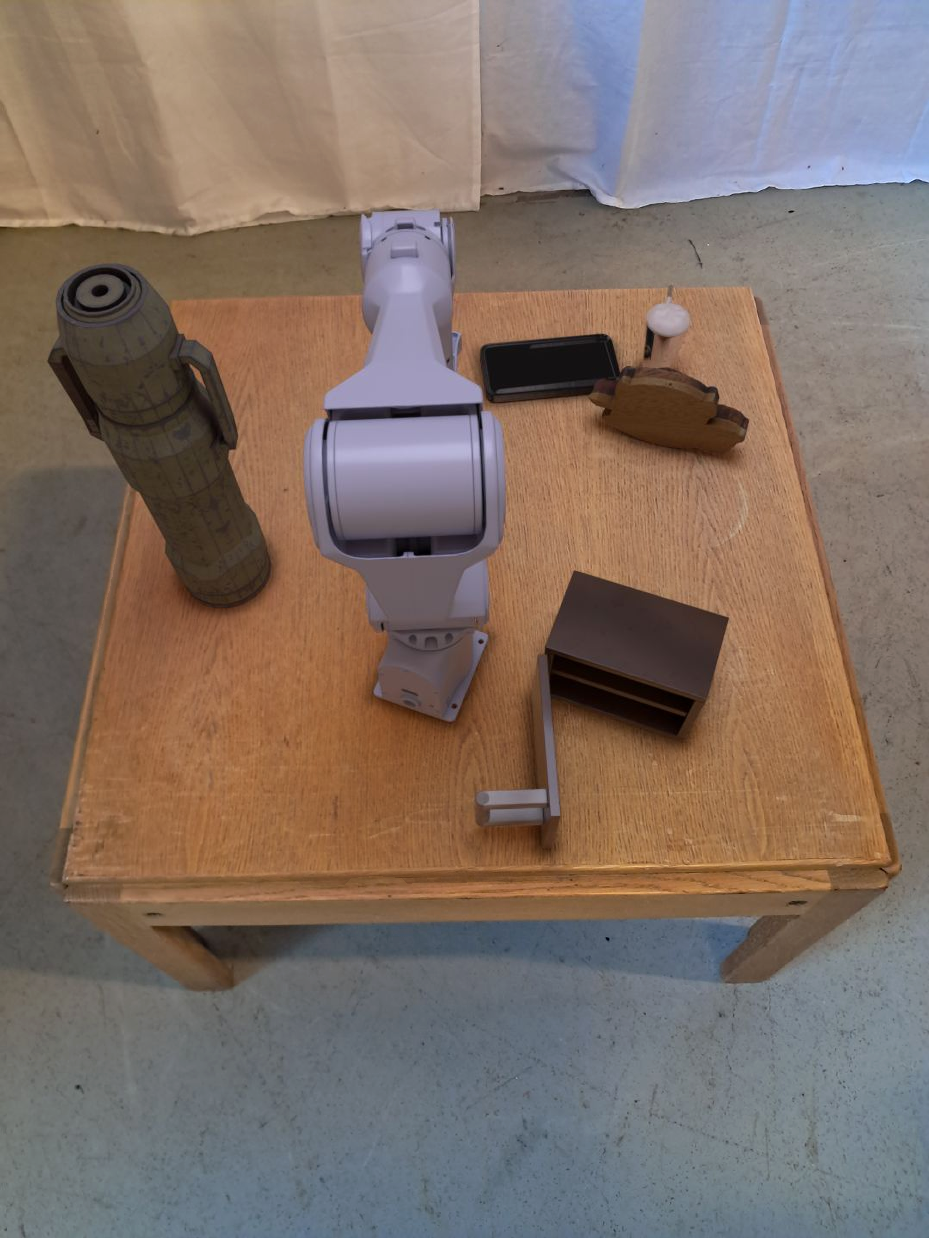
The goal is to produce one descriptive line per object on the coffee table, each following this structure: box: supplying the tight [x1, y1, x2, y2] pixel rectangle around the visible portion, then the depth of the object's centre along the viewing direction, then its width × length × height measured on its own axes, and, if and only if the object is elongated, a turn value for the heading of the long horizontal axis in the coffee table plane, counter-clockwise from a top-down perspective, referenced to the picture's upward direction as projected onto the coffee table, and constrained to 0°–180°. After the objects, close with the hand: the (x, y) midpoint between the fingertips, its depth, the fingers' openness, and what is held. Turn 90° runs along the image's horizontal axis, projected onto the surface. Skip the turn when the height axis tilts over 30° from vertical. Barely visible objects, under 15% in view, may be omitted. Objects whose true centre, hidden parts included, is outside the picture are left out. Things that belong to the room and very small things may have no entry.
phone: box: [479, 333, 621, 403], centre depth 102 cm, size 8×1×15 cm
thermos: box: [46, 262, 272, 609], centre depth 75 cm, size 9×12×35 cm
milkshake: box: [641, 283, 691, 369], centre depth 98 cm, size 5×5×10 cm
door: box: [474, 654, 562, 849], centre depth 76 cm, size 6×14×9 cm, turn 2°
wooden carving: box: [588, 365, 750, 456], centre depth 93 cm, size 16×5×10 cm, turn 76°
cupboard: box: [543, 569, 730, 743], centre depth 80 cm, size 8×14×10 cm, turn 69°
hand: (425, 459), depth 84 cm, fingers closed
